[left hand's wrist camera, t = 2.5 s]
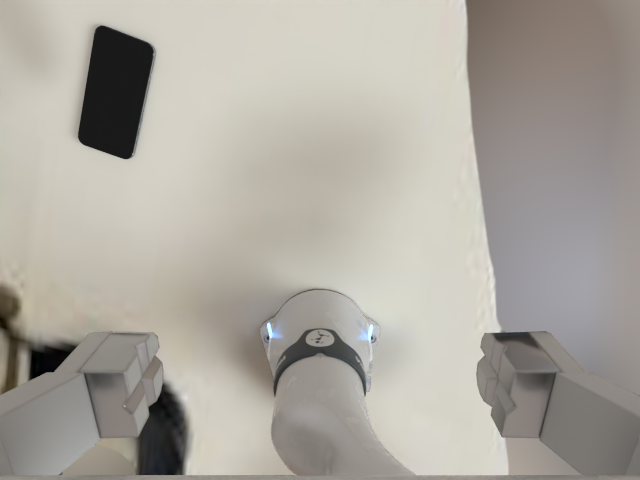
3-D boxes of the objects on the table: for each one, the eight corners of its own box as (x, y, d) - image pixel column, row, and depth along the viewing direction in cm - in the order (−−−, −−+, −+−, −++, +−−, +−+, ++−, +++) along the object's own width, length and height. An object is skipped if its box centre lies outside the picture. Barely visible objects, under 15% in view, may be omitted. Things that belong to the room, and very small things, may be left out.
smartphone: (155, 46, 51) (131, 161, 56) (157, 46, 51) (133, 160, 56) (95, 22, 50) (76, 142, 55) (98, 23, 51) (78, 141, 56)
